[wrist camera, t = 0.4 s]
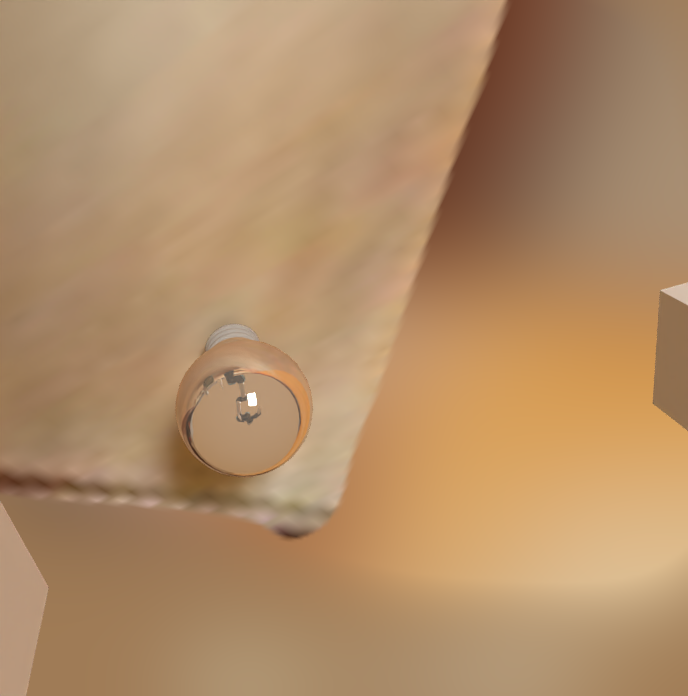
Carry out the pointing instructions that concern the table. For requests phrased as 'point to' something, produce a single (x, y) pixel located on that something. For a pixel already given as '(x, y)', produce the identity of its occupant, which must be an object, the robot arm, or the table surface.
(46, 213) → the table surface
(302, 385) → the light bulb
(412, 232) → the table surface
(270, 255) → the table surface
